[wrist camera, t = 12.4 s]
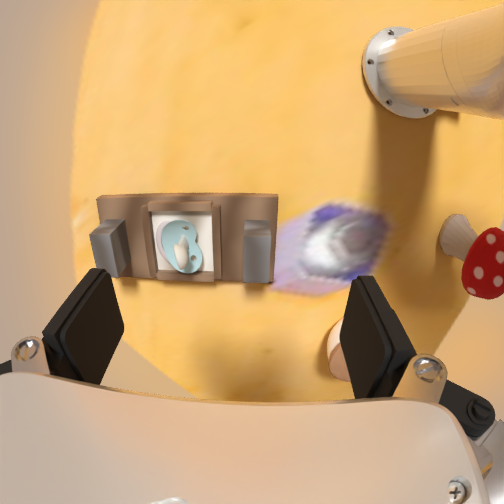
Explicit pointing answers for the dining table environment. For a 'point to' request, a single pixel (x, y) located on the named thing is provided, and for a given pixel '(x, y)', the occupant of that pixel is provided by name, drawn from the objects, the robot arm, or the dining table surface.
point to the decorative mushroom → (476, 256)
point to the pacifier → (179, 245)
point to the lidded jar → (337, 354)
